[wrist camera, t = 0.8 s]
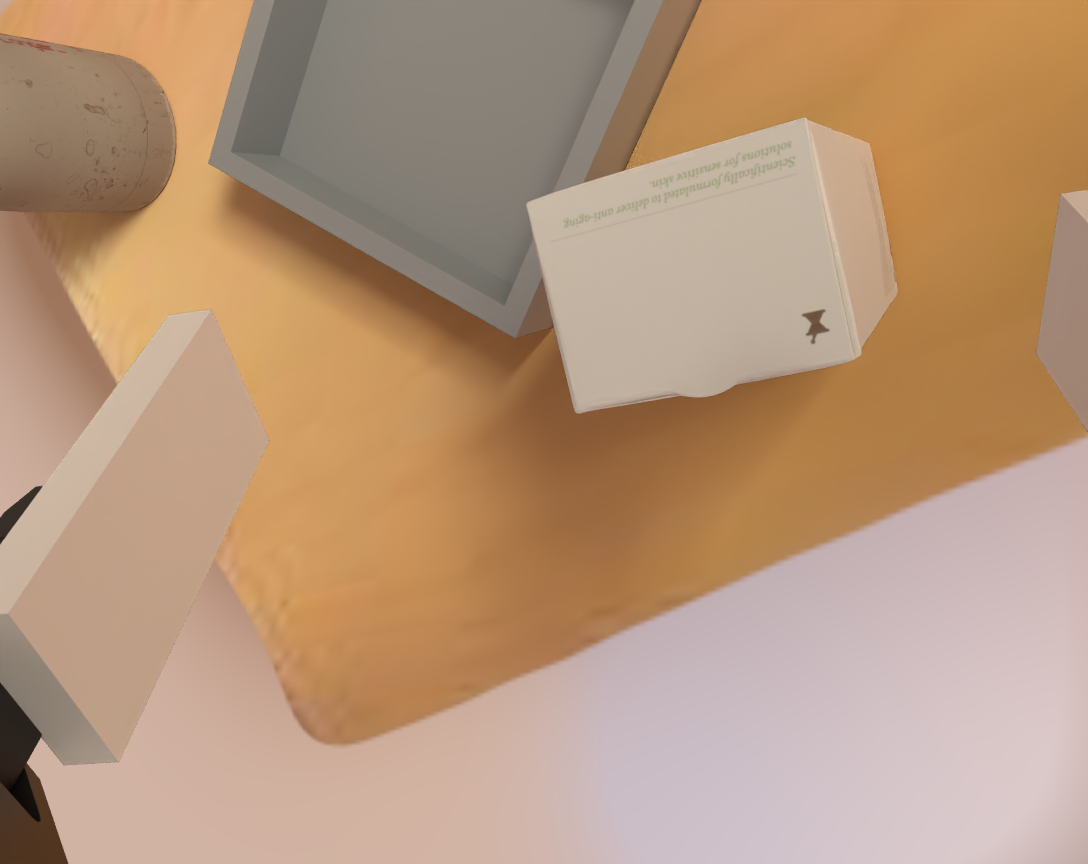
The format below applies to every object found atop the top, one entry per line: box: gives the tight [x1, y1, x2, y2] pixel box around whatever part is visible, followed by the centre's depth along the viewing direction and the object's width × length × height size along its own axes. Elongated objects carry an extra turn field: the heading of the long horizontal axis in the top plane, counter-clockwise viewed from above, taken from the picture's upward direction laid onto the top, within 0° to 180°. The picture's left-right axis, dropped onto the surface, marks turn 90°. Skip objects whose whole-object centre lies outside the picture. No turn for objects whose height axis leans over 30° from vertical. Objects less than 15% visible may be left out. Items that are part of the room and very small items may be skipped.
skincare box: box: [526, 117, 898, 414], centre depth 32 cm, size 8×7×16 cm
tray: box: [208, 0, 701, 338], centre depth 40 cm, size 17×17×4 cm
